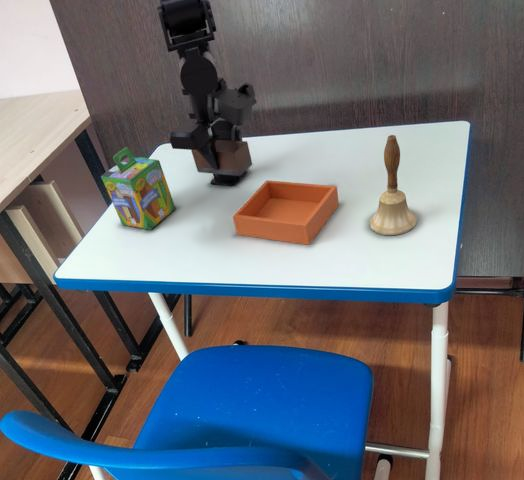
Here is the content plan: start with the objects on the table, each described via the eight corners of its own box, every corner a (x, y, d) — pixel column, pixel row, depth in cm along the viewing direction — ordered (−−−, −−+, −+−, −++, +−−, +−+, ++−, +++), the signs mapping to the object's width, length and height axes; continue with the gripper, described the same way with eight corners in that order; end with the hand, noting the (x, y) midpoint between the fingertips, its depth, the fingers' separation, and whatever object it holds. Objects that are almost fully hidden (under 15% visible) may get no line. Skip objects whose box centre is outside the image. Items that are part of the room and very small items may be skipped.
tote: (237, 234, 103) (232, 216, 100) (270, 198, 110) (266, 180, 107) (308, 245, 95) (305, 225, 93) (339, 205, 103) (336, 185, 100)
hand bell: (419, 210, 96) (420, 123, 85) (413, 236, 91) (413, 147, 80) (374, 210, 99) (369, 126, 88) (365, 235, 94) (359, 149, 83)
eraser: (197, 172, 103) (191, 150, 100) (210, 161, 105) (204, 139, 102) (240, 176, 98) (234, 152, 95) (252, 164, 100) (247, 141, 97)
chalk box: (151, 231, 110) (124, 165, 100) (120, 225, 115) (91, 161, 105) (177, 208, 115) (154, 142, 105) (147, 203, 120) (122, 139, 110)
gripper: (208, 100, 81) (232, 192, 92) (267, 55, 91) (283, 142, 102) (154, 100, 86) (182, 186, 97) (216, 57, 97) (235, 140, 107)
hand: (223, 163), depth 101 cm, fingers closed on eraser, 4 cm apart
